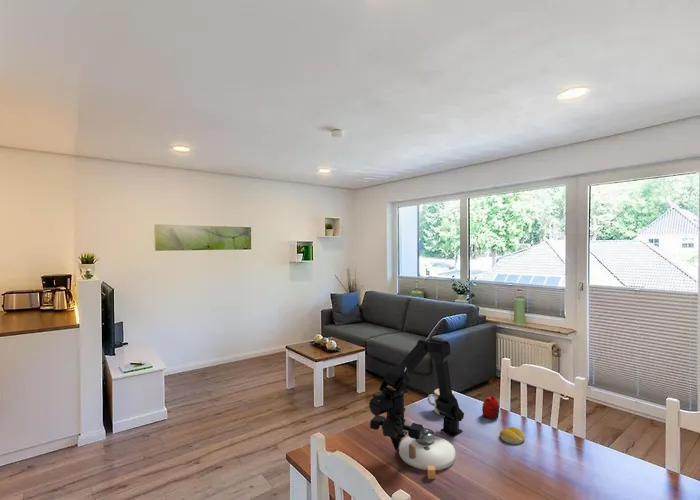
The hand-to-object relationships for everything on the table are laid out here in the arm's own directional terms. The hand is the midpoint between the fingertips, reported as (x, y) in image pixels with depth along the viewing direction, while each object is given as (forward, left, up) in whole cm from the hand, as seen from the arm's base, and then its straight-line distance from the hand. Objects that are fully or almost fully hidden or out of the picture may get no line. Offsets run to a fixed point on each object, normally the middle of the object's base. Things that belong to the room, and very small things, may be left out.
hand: (396, 450), depth 134 cm
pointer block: (-1, +14, -4) cm, 15 cm away
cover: (-14, +1, -1) cm, 14 cm away
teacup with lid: (-43, -13, -4) cm, 45 cm away
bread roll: (-44, +20, -4) cm, 49 cm away
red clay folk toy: (-55, +5, -4) cm, 56 cm away
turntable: (-10, +5, -4) cm, 12 cm away
